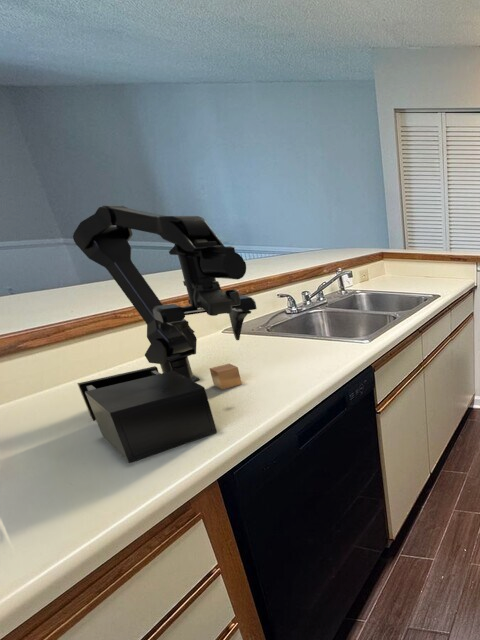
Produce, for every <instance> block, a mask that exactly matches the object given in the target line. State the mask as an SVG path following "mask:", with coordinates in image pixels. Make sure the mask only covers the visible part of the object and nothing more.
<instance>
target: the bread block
mask: <svg viewBox="0 0 480 640" xmlns="http://www.w3.org/2000/svg"><path fill="white" fill-rule="evenodd" d="M209 372H210V375H211V380H212V383H213V386H215V387H216V388H218V389H221V390H227V389H229V388H233V387H236V386H240V385H242V384H243V383H242V379H241V374H240V370H239V367H238V366H236V365H234V364H231V363H226V364H222V365H217V366H213V367H209Z"/></svg>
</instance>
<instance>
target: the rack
mask: <svg viewBox="0 0 480 640" xmlns="http://www.w3.org/2000/svg"><path fill="white" fill-rule="evenodd" d="M158 374H162V373H161V372H160V371H159V368H158V367H157V366H156V365H154V366H149V367H145V368H141V369H136V370H131V371H126V372H123V373H118V374H113V375H109V376H105V377H104V376H103V377H99V378H96V379H90V380H86V381H81V382H77V386H78V389H79V391H80V393H81V396H82V398H83V401H84V403H85V407H86V409H87V411H88V414H89V417H90V418H91V420H92V421H93V422H94V421H96V418H95V416H94V413H93V411H92V408H91V406H90V403H89V401H88V398H87V395H86V393H85V391H89V390H93V389H98V388H102V387H106V386H111V385H115V384H119V383H123V382H128V381H132V380H136V379H141V378H145V377H149V376H153V375H158Z"/></svg>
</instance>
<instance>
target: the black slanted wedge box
mask: <svg viewBox="0 0 480 640" xmlns="http://www.w3.org/2000/svg"><path fill="white" fill-rule="evenodd" d="M85 393H86V395H87V398H88V401H89V403H90V406H91V408H92V411H93V413H94V416H95V418H96V420H95V421H96V423H97V426H98V428H99V431H100V433H101V436H102V438H103V439H104V440H105V441H106V442H107V443H108V444H109V445H110V447H112V448H113V449H114V450H115V451H116V452H117V453H118V454H119V455H120V456H121V457H122V458H123V459H124V460H125V461H126V462H127V463H128V464H131V463H135V462H137V461H140V460H142V459H146V458H148V457H151V456H154V455H158V454H160V453H163V452H165V451H168V450H172V449H174V448H177V447H180V446H183V445H185V444H186V445H187V444H188V443H191V442H193V441H196V440H199V439H203V438H205V437H209V436H211V435H214V434H216V433H218V430H217V427H216V423H215V420H214V415H213V412H212V409H211V405H210V402H209V398H208V395H207V391H206V388H205V387H204V386H202V385H201V384H199V383H197V382H196V381H195V382H194V381H192V380H190V379H188V378H186V377H184V376H183V375H181V374H179V373H177V372H175V371H170V372H166V373H163V372H162V373H161V374H158V375H153V376H149V377H145V378H141V379H136V380H132V381H128V382H123V383H119V384H115V385H111V386H106V387H102V388H98V389H93V390H89V391H85Z"/></svg>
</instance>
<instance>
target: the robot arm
mask: <svg viewBox="0 0 480 640" xmlns="http://www.w3.org/2000/svg"><path fill="white" fill-rule="evenodd" d="M77 225H78V226H77V227H76V229H75V230H74V232H73V233H72V240H73V242H74V243H75V246H77V248H78V249H80V251H81V252H82V253H83V254H84V255H85V256H86V257H87V258H88V259H89V260H91V261H93V262H94V263H96V264H98V265H100V266H101V267H104V268H105V269H106V270H107V272H108V273H109V274H110V276H111V277H112V278H113V280H114V281H115V283H116V284H117V286H118V287H119V288H120V289H121V291H122V292H123V294H124V296H125V297H126V298H127V299H128V300H129V302H130V303H131V305H132V306H133V307H134V308H135V310H136V311H137V313H138V314H139V315H140V317H141V318H142V320H143V321H144V322H145V324H146V338H147V340H148V341H149V344H150V345H149V346H148V348H147V350H146V351H145V353H144V357H145V358H146V360H147V362H148V363H149V364H155V365H156V364H157V365H160V369H161V372H162V373H166V372H170V371H175V372H177V373H179V374H181V375H183V376H184V377H186V378H188V379H190V380H192V381H194V382H195V383H196V382H198V381H200V377H199V376H196V375H194V372H193V370H192V366H191V363H190V359H189V357H190V356H193V355H194V356H195V355H196V354H197V341H198V339H197V336H196V334H195V330H194V329H192V327H191V326H190V324H189V320H187V319H185V318H186V316H191V315H198V314H205V313H206V314H207V315H208V316H211V317H217V316H219V315H223V314H224V315H225V314H227V315H228V316H229V321H230V325H231V329H232V333H233V336H234V339H235V341H240V338H241V333H242V328H243V323H244V320H245V319H246V317H247V316H248V315H250V314H252V311H256V310H257V309H258V308H257V303H256V301H255V299H254V298H253V297H251V296H249V295H248V296H247V295H244V294H241V295H240V293H239V290H237V289H236V288H232V289H226V290H224V291H223V289H222V288H221V285H220V283H219V281H218V280H217V279H222V280H223V279H225V280H240V279H242V278H244V276H245V275H246V272H247V263H246V261H245V260H244V258H243V257H242V255H241V254H240V253H238V252H236V249H235V247H234V246H231V245H228V246H227V245H224V243H223V242H222V240H221V239H220V238H219V237H218V236H217V235H216V233H215V232H214V231H213V229H212V228H211V227H210V226H209V224H208V223H207V222H206V219H205V218H203V217H201V216H199V215H164V214H159V213H154V212H149V211H145V210H144V211H143V210H139V209H133V208H130V207H126V206H124V205H102V206H99V207H98V208H97V210H96V211H95V212H94V213H93V214H92V215H90V216H89V217H86V218H85V219H84V220H82V221H80V222H79V224H77ZM132 230H136V231H140V232H144V233H150V234H155V235H157V236H160V237H161V239H162V240H164V241H166V242H168V243H171V244H174V246H172V248H171V249H170V250H169V251H168V254H169V255H171V256H177V258H178V261H179V265H180V269H181V272H182V277H183V280H182V282H183V286H184V287H185V288H186V292H187V296H188V299H187V301H188V304H189V305H187V306H180V305H177V304H175V303H169V304H163V303H162V302H161V300H160V299H159V297H158V296H157V294H156V293H155V292H154V290H153V289H152V287H151V286H150V284H149V283H148V282H147V280H146V279H145V278H144V276H143V275H142V273H141V272H140V271H139V269H138V268H137V266H136V265H135V263H134V262H133V261H132V247H131V244H130V243H129V241H130V239H131V238H132V237H133V231H132Z"/></svg>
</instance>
